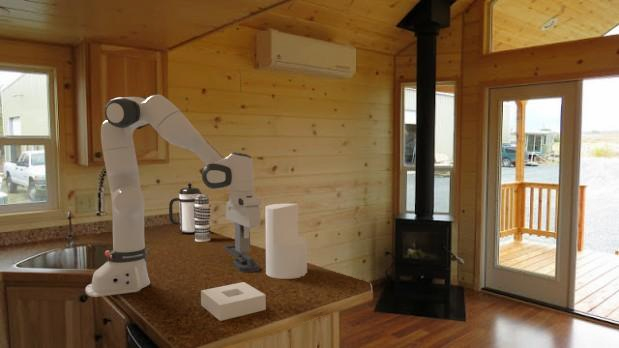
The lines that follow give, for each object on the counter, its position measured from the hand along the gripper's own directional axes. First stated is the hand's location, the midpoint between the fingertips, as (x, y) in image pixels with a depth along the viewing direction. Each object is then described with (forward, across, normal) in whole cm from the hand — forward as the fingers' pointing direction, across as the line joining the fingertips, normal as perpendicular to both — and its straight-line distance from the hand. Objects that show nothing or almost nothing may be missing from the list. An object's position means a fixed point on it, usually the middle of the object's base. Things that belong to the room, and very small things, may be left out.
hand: (242, 236), depth 158 cm
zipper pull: (+22, -35, +16) cm, 44 cm away
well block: (+21, +10, -9) cm, 25 cm away
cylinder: (+21, -13, +27) cm, 37 cm away
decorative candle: (+21, -91, +21) cm, 96 cm away
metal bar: (+5, 0, 0) cm, 5 cm away
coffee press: (+21, -114, +21) cm, 118 cm away
